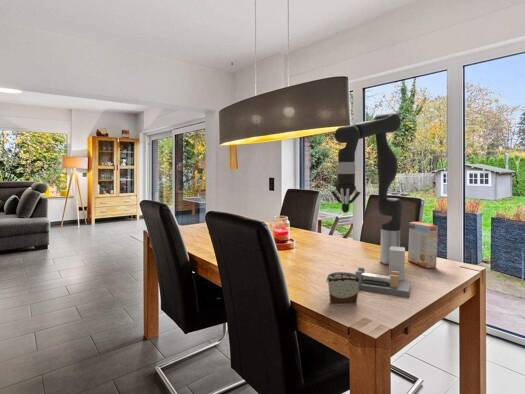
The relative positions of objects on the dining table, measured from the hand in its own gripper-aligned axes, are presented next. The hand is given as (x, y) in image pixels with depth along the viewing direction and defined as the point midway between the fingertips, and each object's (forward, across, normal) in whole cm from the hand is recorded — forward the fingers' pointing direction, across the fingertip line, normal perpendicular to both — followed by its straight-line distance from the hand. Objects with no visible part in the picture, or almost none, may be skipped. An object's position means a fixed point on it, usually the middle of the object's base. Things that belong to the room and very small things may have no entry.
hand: (345, 212), depth 147 cm
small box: (+29, -21, -10) cm, 37 cm away
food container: (+29, -5, +28) cm, 41 cm away
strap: (+25, -8, +7) cm, 27 cm away
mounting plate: (+29, -14, +7) cm, 33 cm away
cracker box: (+29, -31, -37) cm, 56 cm away
